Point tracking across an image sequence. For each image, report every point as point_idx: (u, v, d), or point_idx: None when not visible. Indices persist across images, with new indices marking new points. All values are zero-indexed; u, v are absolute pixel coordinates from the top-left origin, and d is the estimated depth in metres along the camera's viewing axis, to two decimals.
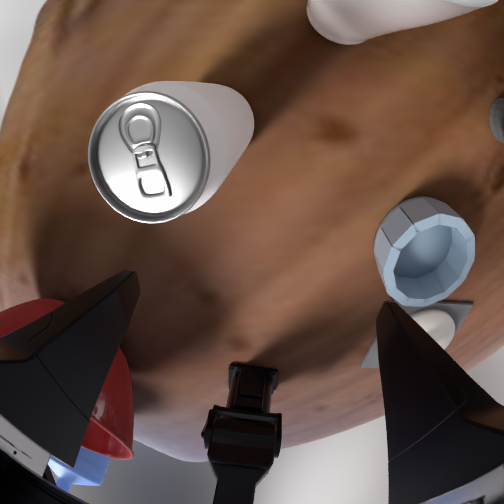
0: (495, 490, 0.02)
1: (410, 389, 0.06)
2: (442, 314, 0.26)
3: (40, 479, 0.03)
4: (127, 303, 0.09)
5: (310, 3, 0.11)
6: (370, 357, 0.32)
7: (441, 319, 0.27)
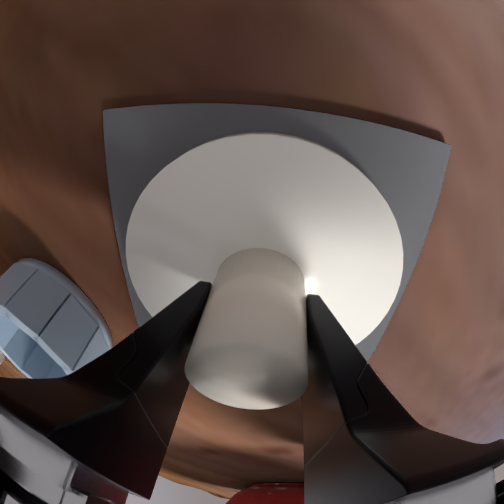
0: None
1: (316, 390, 0.06)
2: (127, 252, 0.10)
3: None
4: None
5: None
6: None
7: (143, 247, 0.10)
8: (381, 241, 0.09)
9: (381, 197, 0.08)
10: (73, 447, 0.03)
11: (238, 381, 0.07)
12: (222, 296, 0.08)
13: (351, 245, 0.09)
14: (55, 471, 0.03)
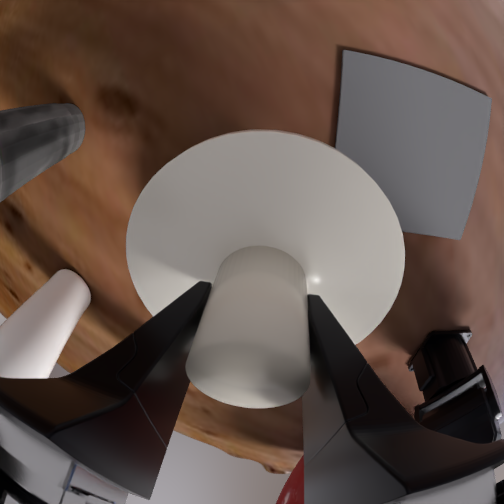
0: None
1: (317, 390, 0.07)
2: (127, 250, 0.10)
3: None
4: None
5: None
6: (441, 230, 0.18)
7: (144, 245, 0.10)
8: (383, 239, 0.09)
9: (383, 194, 0.08)
10: (74, 447, 0.03)
11: (240, 379, 0.07)
12: (224, 294, 0.08)
13: (353, 243, 0.09)
14: (55, 471, 0.03)
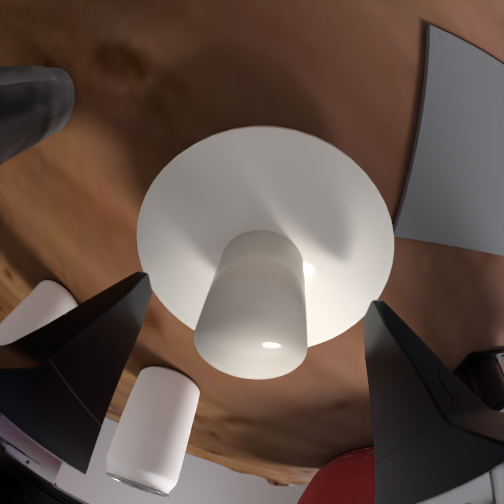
0: (480, 498, 0.02)
1: (396, 390, 0.06)
2: (138, 236, 0.11)
3: (57, 489, 0.03)
4: (139, 306, 0.09)
5: None
6: None
7: (154, 231, 0.11)
8: (373, 224, 0.09)
9: (371, 183, 0.09)
10: None
11: (243, 347, 0.08)
12: (228, 270, 0.08)
13: (345, 227, 0.10)
14: None
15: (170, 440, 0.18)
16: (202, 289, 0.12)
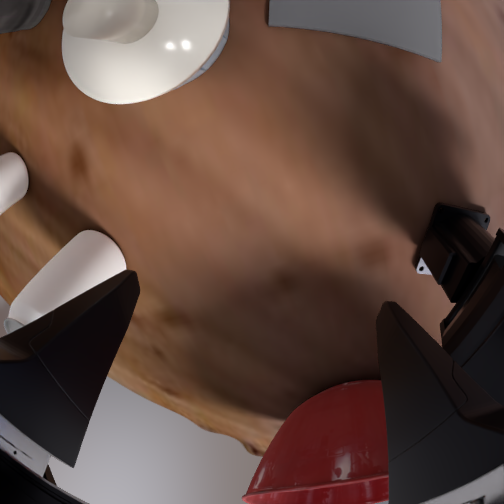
0: (495, 490, 0.02)
1: (410, 389, 0.06)
2: (64, 30, 0.10)
3: (40, 479, 0.03)
4: (127, 303, 0.09)
5: None
6: (413, 44, 0.12)
7: None
8: None
9: None
10: None
11: (86, 6, 0.07)
12: None
13: None
14: None
15: (72, 286, 0.17)
16: (94, 51, 0.11)
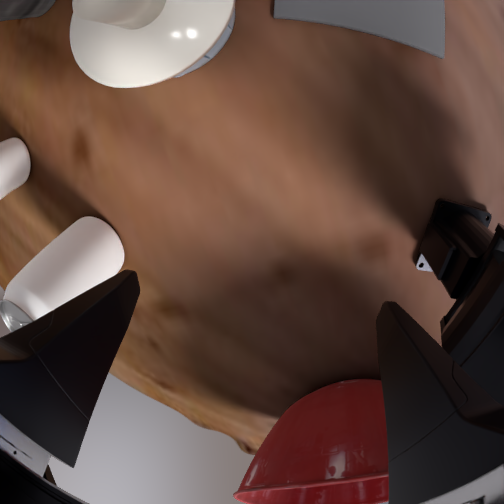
0: (495, 490, 0.02)
1: (410, 389, 0.06)
2: (72, 16, 0.10)
3: (40, 479, 0.03)
4: (127, 303, 0.09)
5: None
6: (416, 39, 0.12)
7: None
8: None
9: None
10: None
11: None
12: None
13: None
14: None
15: (69, 270, 0.17)
16: (101, 36, 0.11)
